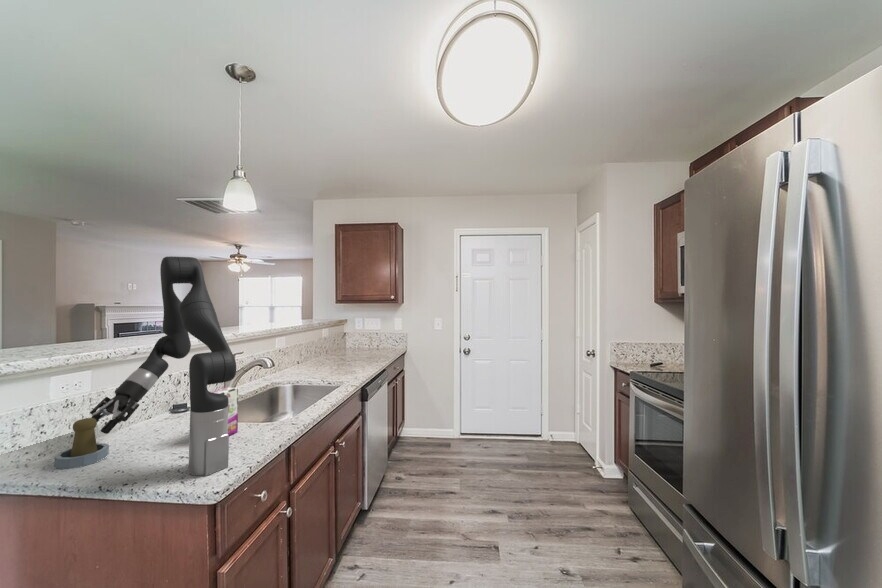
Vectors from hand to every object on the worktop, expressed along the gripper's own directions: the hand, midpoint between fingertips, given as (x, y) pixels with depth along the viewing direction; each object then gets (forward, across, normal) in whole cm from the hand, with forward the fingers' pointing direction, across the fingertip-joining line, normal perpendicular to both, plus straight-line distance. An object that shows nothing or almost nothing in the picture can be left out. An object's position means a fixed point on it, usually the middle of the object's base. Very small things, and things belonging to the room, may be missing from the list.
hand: (94, 430), depth 107 cm
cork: (+6, -1, +4) cm, 7 cm away
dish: (+7, 0, +4) cm, 8 cm away
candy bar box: (-11, +23, +22) cm, 34 cm away
